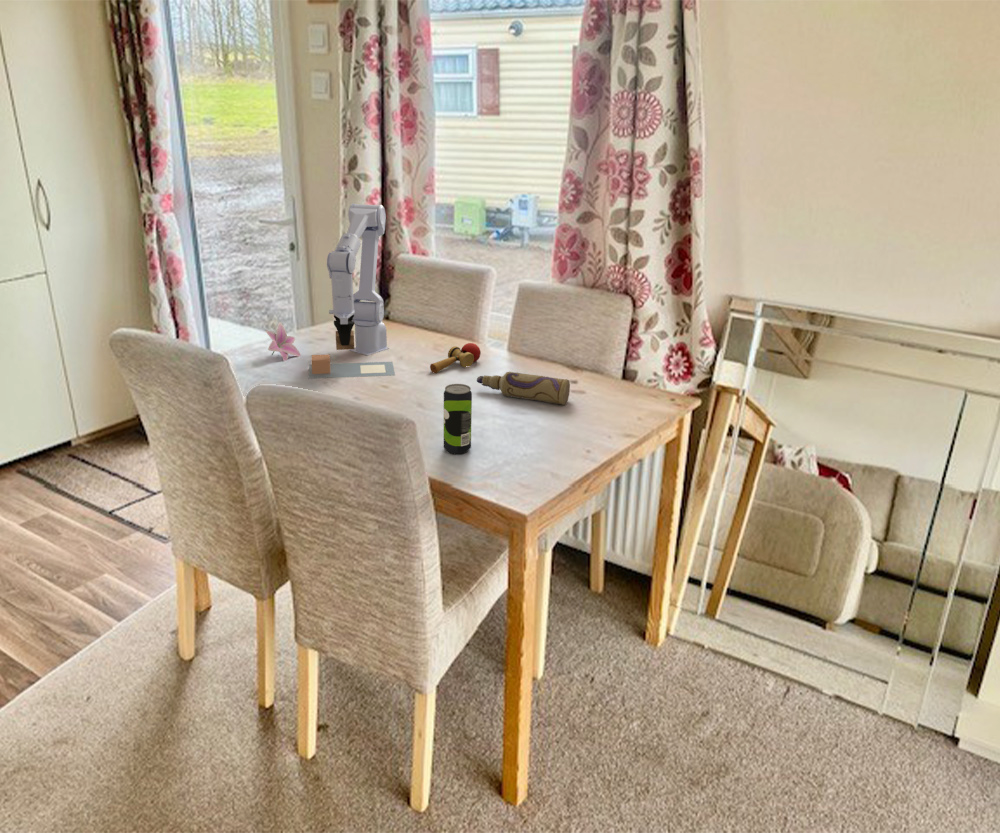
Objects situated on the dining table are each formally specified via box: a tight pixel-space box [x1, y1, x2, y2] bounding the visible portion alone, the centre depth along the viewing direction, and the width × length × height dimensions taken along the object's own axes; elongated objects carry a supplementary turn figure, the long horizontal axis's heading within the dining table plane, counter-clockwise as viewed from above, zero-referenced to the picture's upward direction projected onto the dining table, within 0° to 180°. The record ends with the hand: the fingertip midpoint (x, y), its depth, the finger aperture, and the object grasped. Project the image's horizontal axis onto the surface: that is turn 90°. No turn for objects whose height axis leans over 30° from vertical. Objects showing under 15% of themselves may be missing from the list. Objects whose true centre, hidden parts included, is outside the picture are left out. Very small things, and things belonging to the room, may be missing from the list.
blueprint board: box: [308, 361, 396, 380], centre depth 224 cm, size 24×12×1 cm, turn 101°
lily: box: [265, 321, 302, 362], centre depth 232 cm, size 12×12×10 cm
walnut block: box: [335, 330, 355, 351], centre depth 221 cm, size 5×5×4 cm
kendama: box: [429, 342, 482, 374], centre depth 230 cm, size 8×6×18 cm
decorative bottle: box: [476, 371, 571, 406], centre depth 209 cm, size 26×8×7 cm, turn 69°
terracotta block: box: [310, 354, 331, 374], centre depth 222 cm, size 5×5×4 cm
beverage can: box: [443, 383, 473, 455], centre depth 175 cm, size 6×6×15 cm
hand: (345, 342), depth 221 cm, fingers closed on walnut block, 5 cm apart
